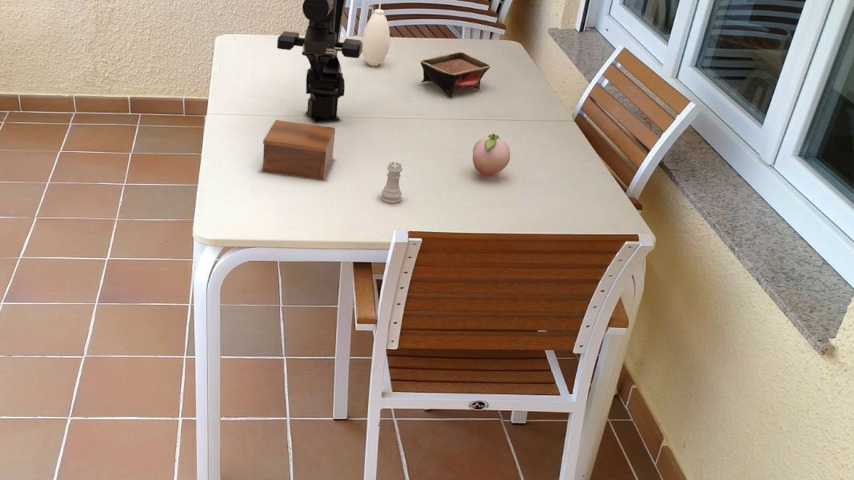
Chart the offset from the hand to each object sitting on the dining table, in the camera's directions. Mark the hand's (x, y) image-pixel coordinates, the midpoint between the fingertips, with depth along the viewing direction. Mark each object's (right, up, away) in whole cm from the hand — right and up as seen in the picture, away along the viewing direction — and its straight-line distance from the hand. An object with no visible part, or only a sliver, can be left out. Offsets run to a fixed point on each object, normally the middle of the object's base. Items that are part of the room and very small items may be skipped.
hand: (316, 82), depth 223 cm
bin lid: (-4, -15, -11) cm, 19 cm away
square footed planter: (+38, +11, +42) cm, 58 cm away
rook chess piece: (+15, -30, -18) cm, 38 cm away
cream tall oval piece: (+18, +20, +54) cm, 61 cm away
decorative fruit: (+38, -23, -6) cm, 45 cm away
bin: (-4, -21, -7) cm, 22 cm away
